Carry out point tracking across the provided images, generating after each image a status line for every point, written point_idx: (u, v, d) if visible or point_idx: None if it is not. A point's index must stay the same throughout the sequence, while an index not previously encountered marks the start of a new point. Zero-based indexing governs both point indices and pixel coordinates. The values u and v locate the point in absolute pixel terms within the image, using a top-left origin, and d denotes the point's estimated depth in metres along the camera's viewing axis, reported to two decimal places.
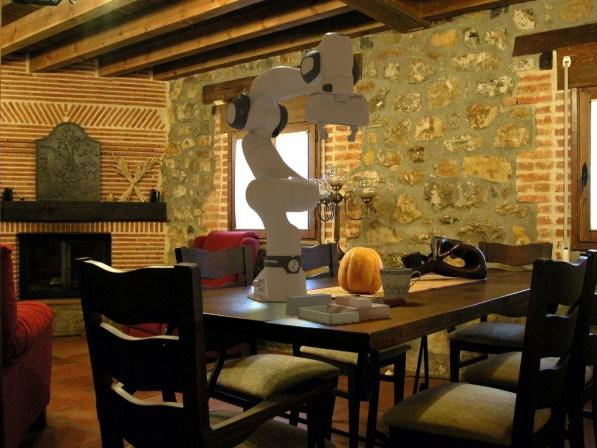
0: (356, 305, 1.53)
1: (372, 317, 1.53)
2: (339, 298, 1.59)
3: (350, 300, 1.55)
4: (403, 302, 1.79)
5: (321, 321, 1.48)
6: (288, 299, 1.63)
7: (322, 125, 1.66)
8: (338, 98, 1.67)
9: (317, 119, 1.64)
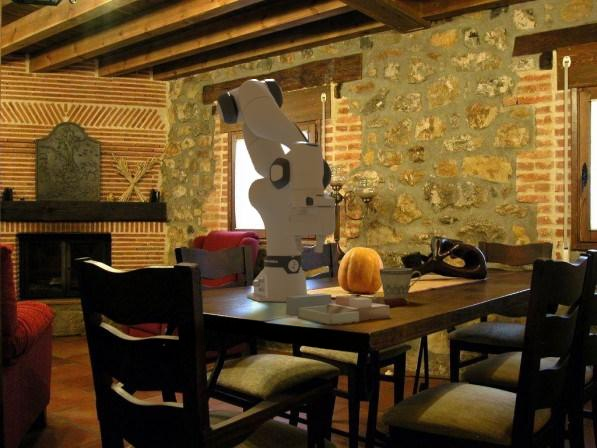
0: (356, 305, 1.53)
1: (372, 317, 1.53)
2: (339, 298, 1.59)
3: (350, 300, 1.55)
4: (403, 302, 1.79)
5: (321, 321, 1.48)
6: (288, 299, 1.63)
7: None
8: None
9: None
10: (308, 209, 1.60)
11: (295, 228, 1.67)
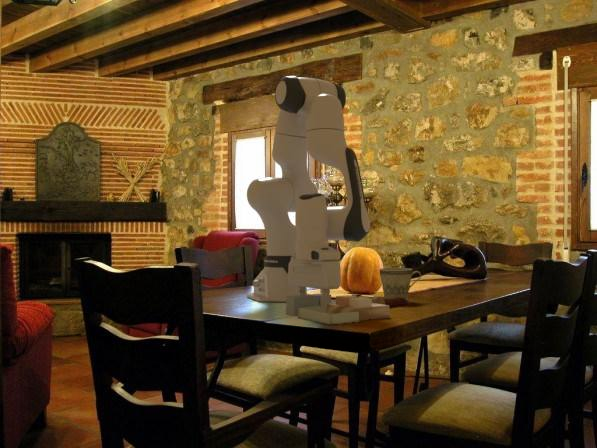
0: (356, 305, 1.53)
1: (372, 317, 1.53)
2: (339, 298, 1.59)
3: (350, 300, 1.55)
4: (404, 302, 1.79)
5: (321, 321, 1.48)
6: (288, 299, 1.63)
7: None
8: None
9: None
10: (313, 263, 1.59)
11: (300, 280, 1.67)
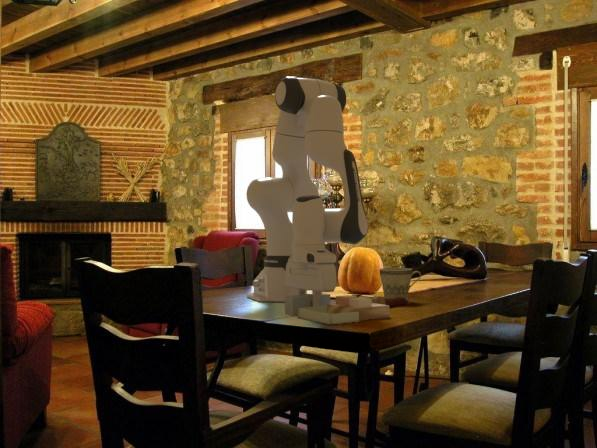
0: (356, 305, 1.53)
1: (372, 317, 1.53)
2: (339, 298, 1.59)
3: (350, 300, 1.55)
4: (404, 302, 1.79)
5: (321, 321, 1.48)
6: (287, 299, 1.62)
7: None
8: None
9: None
10: (309, 265, 1.60)
11: (296, 282, 1.67)
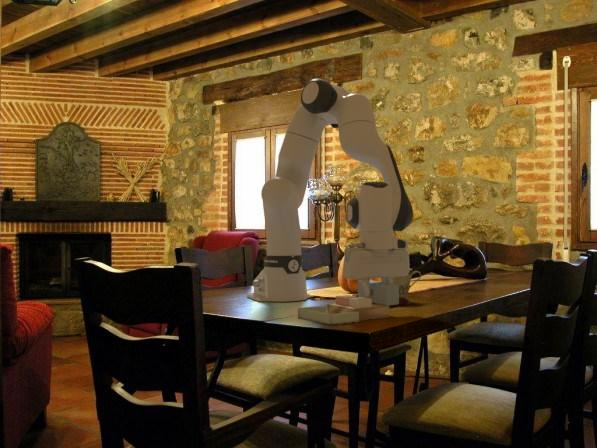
0: (356, 305, 1.53)
1: (372, 317, 1.53)
2: (339, 298, 1.59)
3: (350, 300, 1.55)
4: (405, 301, 1.79)
5: (321, 321, 1.48)
6: (390, 288, 1.56)
7: None
8: None
9: None
10: (396, 251, 1.62)
11: (370, 271, 1.58)
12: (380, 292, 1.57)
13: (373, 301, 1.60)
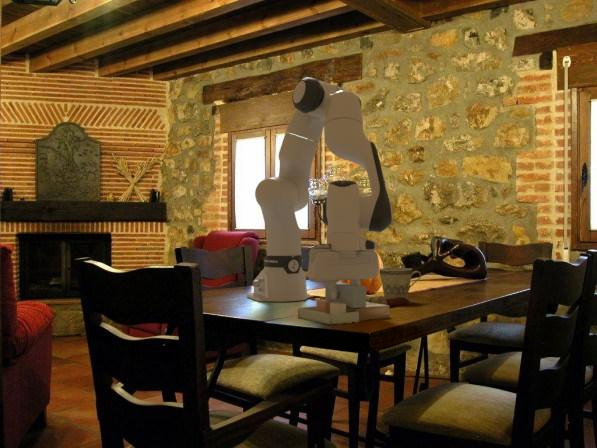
0: None
1: (372, 317, 1.53)
2: None
3: None
4: (405, 301, 1.80)
5: (321, 321, 1.48)
6: (357, 290, 1.50)
7: None
8: None
9: None
10: (364, 253, 1.56)
11: (337, 273, 1.52)
12: (346, 294, 1.52)
13: None
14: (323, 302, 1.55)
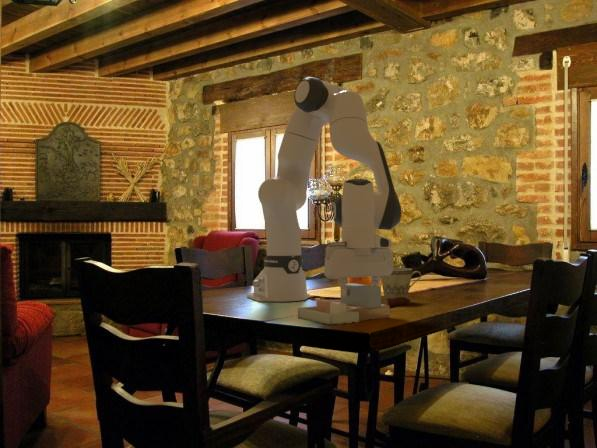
0: None
1: (372, 317, 1.53)
2: None
3: None
4: (406, 301, 1.80)
5: (321, 321, 1.48)
6: (372, 290, 1.53)
7: None
8: None
9: None
10: (379, 250, 1.59)
11: (352, 270, 1.55)
12: (361, 295, 1.54)
13: (355, 304, 1.57)
14: (323, 302, 1.55)
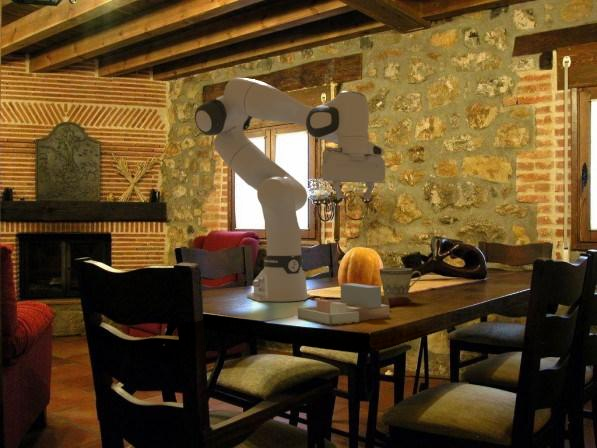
0: None
1: (372, 317, 1.53)
2: None
3: None
4: (407, 301, 1.80)
5: (321, 321, 1.48)
6: (372, 290, 1.53)
7: None
8: None
9: None
10: (372, 157, 1.71)
11: (347, 174, 1.67)
12: (361, 295, 1.54)
13: (355, 304, 1.57)
14: (323, 302, 1.55)
